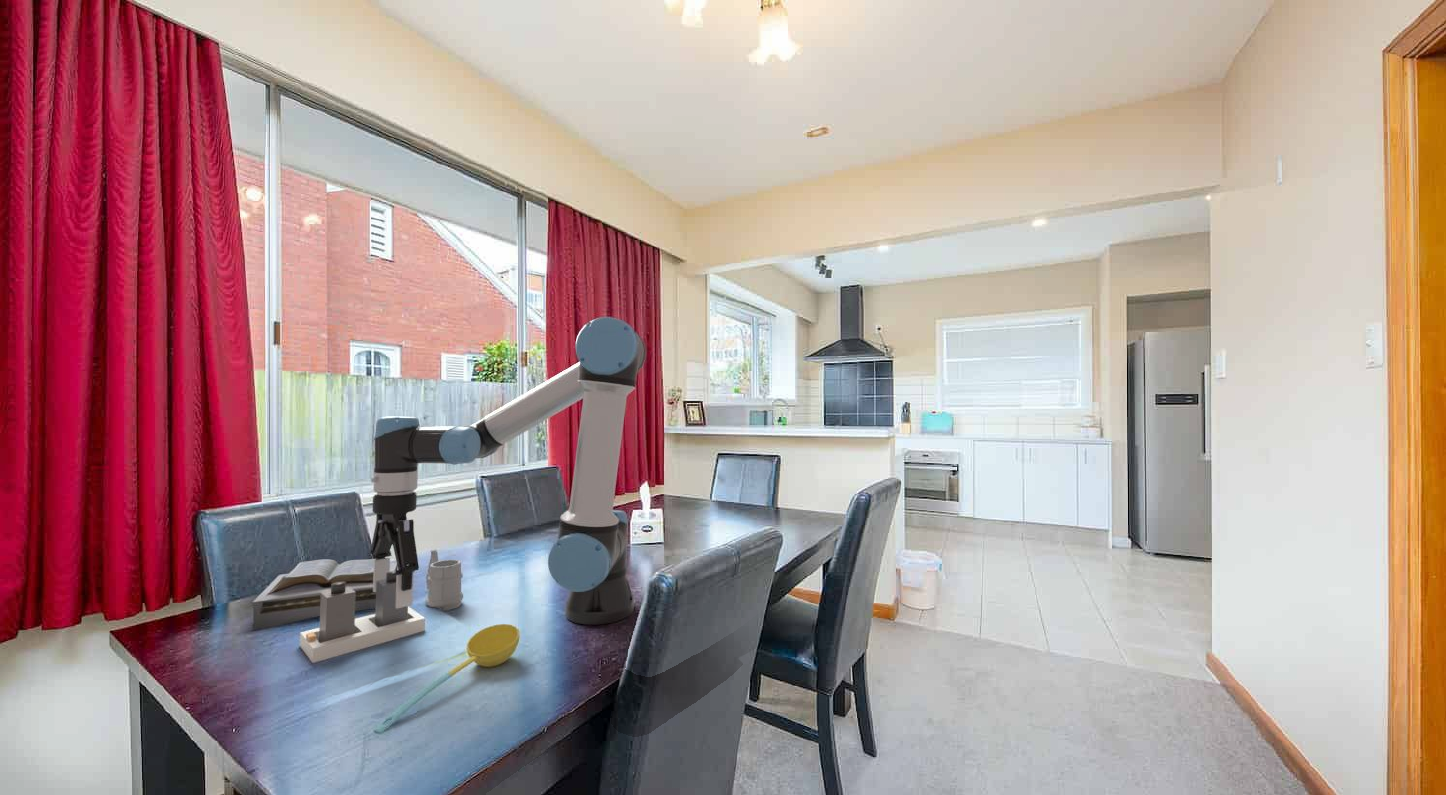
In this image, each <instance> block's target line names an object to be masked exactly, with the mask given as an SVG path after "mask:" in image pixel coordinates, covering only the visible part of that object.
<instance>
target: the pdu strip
mask: <svg viewBox="0 0 1446 795" xmlns="http://www.w3.org/2000/svg"><path fill="white" fill-rule="evenodd" d="M319 628H320V627H316V628H313V629H309V630H305V631H301V632H299V634H300V635H299V648H301V649H302V651H303V652H304V654H305V655H306V657H307V658H308V659H309V661H310V662H311V663H312V664H315V663H318V662H322V661H325V660H329V659H333V658H336V657H340V656H343V655H346V654H349V653H354V652H357V651H360V650H364V649H367V648H370V647H375V646H377V645H381V644H385V643H388V642H391V641H394V640H398V639H402V638H405V637H408V636H412V635H416V634H419V633H421V632H422V633H423V632H425V631H426V617H425V616H423V615H422V614H420V613H418V612H417V611H416V610H415V609H413V608H411V607H410V606H408V619H407V620H404V621H400V622H397V623H393V624H389V625H386V626H382V627H377V626H376V625H375V613H374V614H369V615H365V616H360V617H358V618H357V617H355V624H354V634H352V635H348V636H344V637H341V638H337V639H333V640H330V641H326V642H322V643H319Z"/></svg>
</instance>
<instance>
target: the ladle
mask: <svg viewBox="0 0 1446 795" xmlns="http://www.w3.org/2000/svg"><path fill="white" fill-rule="evenodd" d="M519 642H520V629H518V628H517V627H516V625H512V624H505V623H502V624H495V625H492V626H488V627H485V628H484V629H483V628H482V629H481V630H479V631H478V632H476V633H474V635H473V636H471V638H470V639H469V640H468V641H467V643H466V650H467V651H466V652H467V654H468V656H469V658H468V659H466V660H465V661H463V662H462V663H460V664H458V665H457V666H456V667H454V668H453V669H451V670H450V671H448V672H446V673H444V674H443V675H441V676H440V677H438V678H437V679H435V680H434V681H432V682H431V683H430V684H428V685H427V686H426V687H423V688H422V689H421V690H420V691H418V692H417V693H416V694H415V695H413V696H412V697H411V698H409V699H408V700H406V701H405V702H404V703H403V704H402V705H400V706H399V707H398V708H397V709H396V710H395V711H394V712H392V713H391V714H390V715H389V716H387V717H386V718H385V719H384V720H383V721H382V722H380V724H378V725H377V726H376V727H375V728H374V729H373V732H375V733H377V734H383V733H384V732H385V731H386V730H388V729H389V727H390V726H392V725H393V724H394V723H395V722H396V721H398V720H399V719H400V717H401V716H403V715H404V714H405V713H407V711H409V710H410V709H411V708H413V706H415V705H416V704H417V703H419V701H421V700H422V699H423V698H424V697H426V696H427V695H428V694H429V693H431V692H432V691H433V690H435V689H436V688H438V687H439V686H440V685H442V684H444V682H446V681H448V680H449V679H450V678H451V677H453V676H454V675H456V674H457V673H459V672H460V671H461V670H464V668H466V667H468V666H469V665H471V664H472V663H474V664H476V665H478V666H482V667H486V668H487V667H489V668H493V667H496V666H500V665H501V664H503V663H505V662H507V660H508V659H510V658H511V657H512V656H513V654H514V653H515V652H516V649H517V647H518V644H519ZM389 721H390V722H389ZM387 722H389V723H387ZM386 723H387V724H386Z"/></svg>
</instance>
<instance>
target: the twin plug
mask: <svg viewBox="0 0 1446 795" xmlns="http://www.w3.org/2000/svg"><path fill="white" fill-rule="evenodd" d="M355 595H356V592H355V591H354V590H353V589H351V588H350V587H346V582H336V583H333V584H331V590H330V591H325V592H321V601H320V616H319V627H318V628H319V643H322V642H326V641H330V640H333V639H337V638H341V637H344V636H348V635H352V634H354V624H355V619H356V611H355Z"/></svg>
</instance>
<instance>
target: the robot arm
mask: <svg viewBox="0 0 1446 795" xmlns="http://www.w3.org/2000/svg"><path fill="white" fill-rule="evenodd" d="M575 353H576V358H577V360H578V362H577V363H575V364H573V365H572V366H570V367H568V368H567V369H565V370H563V371H562V372H559V373H558V374H556V375H554V376H553V377H551V378H550V379H547V380H546V381H544V382H543V383H541V384H539V385H537V386H536V387H533V388H532V389H531V390H529V391H527V392H525V393H524V394H522V395H520V396H519V397H517V398H515V399H514V400H512V401H510V402H508V403H507V404H505V405H503V406H501V407H500V408H498V409H496V410H494V411H493V412H491V413H489V414H487V415H486V416H485V417H483V418H481V419H480V420H477V421H476V422H474V423H473V424H470V425H461V426H459V425H458V426H457V425H456V426H421V425H420V421H419V418H418V417H416V416H382V417H380V418H378V419H377V421H376V422H375V423H376V424H375V434H374V438H373V441H374V469H373V472H374V473H373V477H371V478H370V482H371V483H373V492H374V493H375V494H374V495H373V496H372V513H374V515H376V516H375V517H376V520H375V521H376V522H375V527H374V532H373V537H372V542H371V547H370V551H369V553H370V555H372V559H376V560H374V574H373V592H376V581H378V580H383V579H386V573H388V572H389V571H390V563H391V562H390V561H391V558H390V557H392V556H393V554H392V552H391V548H392V547H393V552H394V556H395V562H396V563H397V570H396V572H395V575H396V607H395V608H397V609H398V608H402V607H406V606H408V607H410V606H413V602H414V601H413V600H414V597H413V596H414V574H415V573H414V572H415V571H418V570H419V568H420V567H419V559H418V552H417V545H416V538H415V530H414V526H415V525H414V522H415V521H414V519H407V514H408V513H410V512H414V511H415V510H416V509H417V500H418V498H417V497H418V496H417V492H416V491H415V490H417V489H418V475H419V470H418V465H419V464H443V465H444V464H446V465H448V464H451V465H463V464H471V463H473V462H474V461H475V460H476V459H484V458H487V457H489V456H491V455H494V454H495V453H496V452H497V451H498V450H499V448H500V447H502V446H503V445H505V444H507V443H508V442H510V441H512V440H513V439H515V438H517V437H519V436H520V435H522V434H524V433H526V432H527V431H529V430H531V429H533V428H534V427H536V426H537V425H539V424H541V423H542V422H544V421H547V420H548V419H549V418H552V417H553V416H554V415H557V414H558V413H560V412H562V411H563V410H565V409H567V408H568V407H571V406H572V405H574V404H576V403H577V402H579V401H581V400H582V406H581V415H580V422H579V428H578V436H577V443H576V444H577V445H576V453H575V461H574V468H573V475H572V483H571V485H572V486H571V493H570V498H569V500H570V501H569V508H568V509H567V510H566V511H565V512H563V513H562V514H561V515H560V518H559V523H558V531H557V540H556V541H555V542H554V543H553V544H552V547H551V548H550V551H549V554H548V558H547V566H548V570H549V573H550V576H551V577H552V579H553V580H554V582H556V583H557V585H559V586H560V587H562V588H563V589H565V590H567V591H569V594H568V597H567V600H566V602H565V609H564V610H565V613H564V615H565V617H566V619H567V620H569V621H571V622H573V623H576V624H579V625H581V624H582V625H591V626H592V625H593V626H594V625H605V624H611V623H616V622H618V621H621V620H624V619H626V618H628V617H630V615H632V613H634V607H635V606H634V604H635V603H634V602H635V601H634V597H633V594H632V589H631V587H630V583H629V580H628V577H627V567H628V566H627V562H628V555H627V554H628V526H629V523H628V516H627V513H626V512H625V511H624V510H619V509H618V510H617V509H614V502H615V494H616V488H617V487H616V485H617V476H618V469H619V462H620V454H621V446H622V437H623V429H624V422H625V421H624V420H625V414H626V404H627V399H628V398H627V397H628V395H629V394H631V393H632V392H633V391H635V389H636V384H637V376H638V373H639V372H640V371H641V370H642V368H643V367H644V365H645V362H646V358H647V349H646V344H645V342H644V341H643V338H642V337H641V335H640V334H638V333H637V332H636V331H635V330H634V329H633V327H632V326H631V325H630V324H629V323H627V322H626V321H624V320H622V319H620V318H619V319H618V318H616V317H611V316H602V317H597V318H594V319H592V320H590V321H589V322H587V323H586V324H585V325H584V326H583V327H582V328H581V329H580V331H579V332H578V335H577V336H576V341H575Z"/></svg>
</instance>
